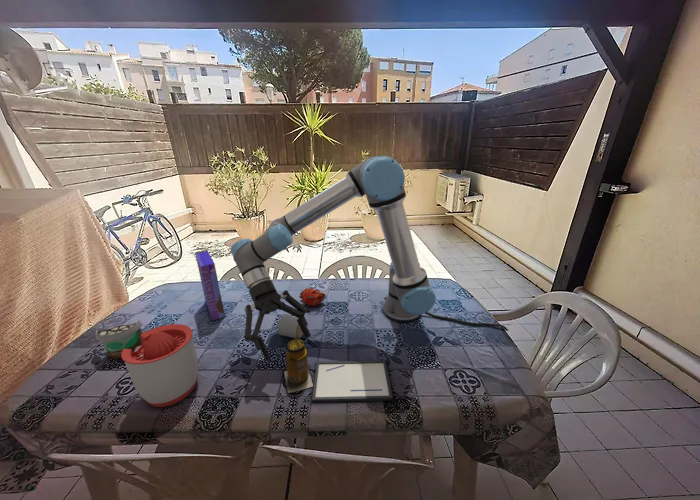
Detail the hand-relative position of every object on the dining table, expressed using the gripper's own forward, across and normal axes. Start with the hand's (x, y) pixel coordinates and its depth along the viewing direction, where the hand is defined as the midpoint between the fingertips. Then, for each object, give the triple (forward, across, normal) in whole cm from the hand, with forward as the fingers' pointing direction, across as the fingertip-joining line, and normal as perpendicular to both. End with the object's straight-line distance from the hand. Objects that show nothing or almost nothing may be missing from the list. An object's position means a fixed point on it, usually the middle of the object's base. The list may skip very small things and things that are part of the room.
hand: (289, 347), depth 80 cm
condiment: (+9, 0, -5) cm, 10 cm away
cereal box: (-31, +5, -45) cm, 55 cm away
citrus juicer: (-6, +28, -20) cm, 36 cm away
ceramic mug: (-5, -11, -18) cm, 22 cm away
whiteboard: (+17, -11, +4) cm, 21 cm away
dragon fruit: (-13, -28, -27) cm, 41 cm away
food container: (-26, +36, -40) cm, 59 cm away
